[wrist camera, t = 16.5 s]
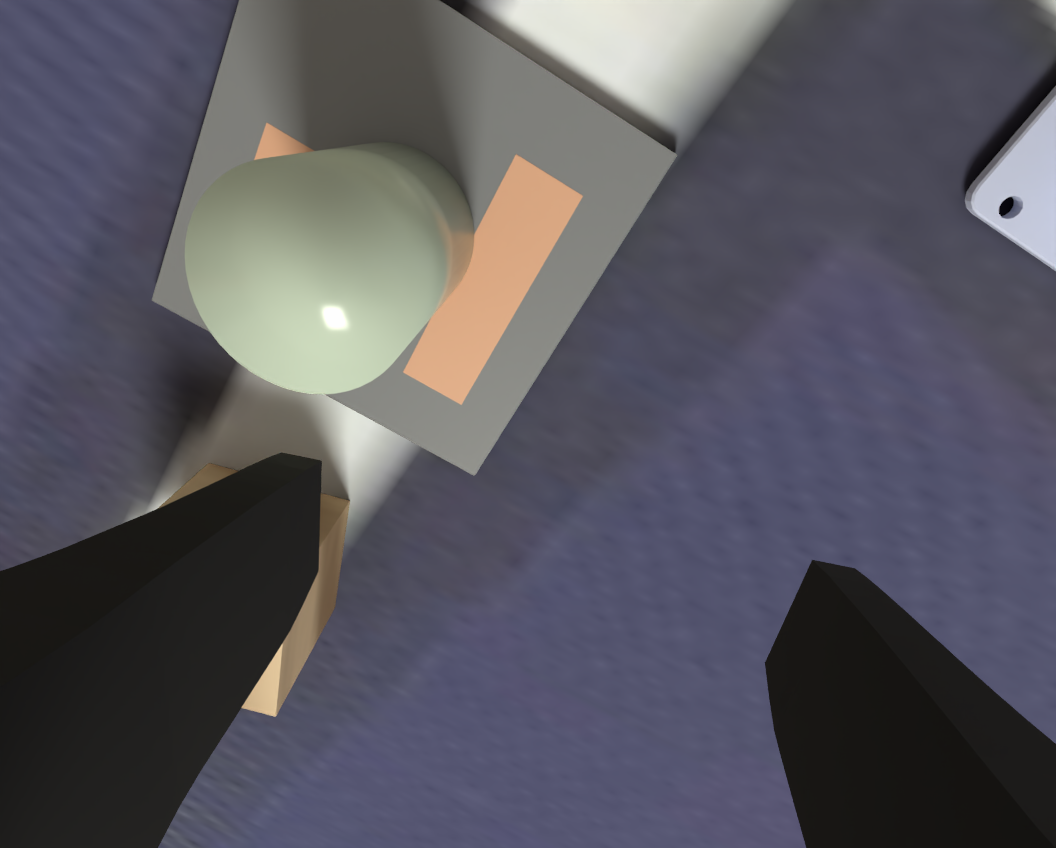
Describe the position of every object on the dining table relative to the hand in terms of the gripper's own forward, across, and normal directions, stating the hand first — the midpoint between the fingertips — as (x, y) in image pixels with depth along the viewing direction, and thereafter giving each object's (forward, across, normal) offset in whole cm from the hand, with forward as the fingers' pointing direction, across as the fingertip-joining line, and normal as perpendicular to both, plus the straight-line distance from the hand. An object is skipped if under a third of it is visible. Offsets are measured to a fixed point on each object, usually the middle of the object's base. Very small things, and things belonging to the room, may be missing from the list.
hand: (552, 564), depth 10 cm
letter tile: (+10, +6, -2) cm, 12 cm away
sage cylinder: (+10, +6, -2) cm, 12 cm away
